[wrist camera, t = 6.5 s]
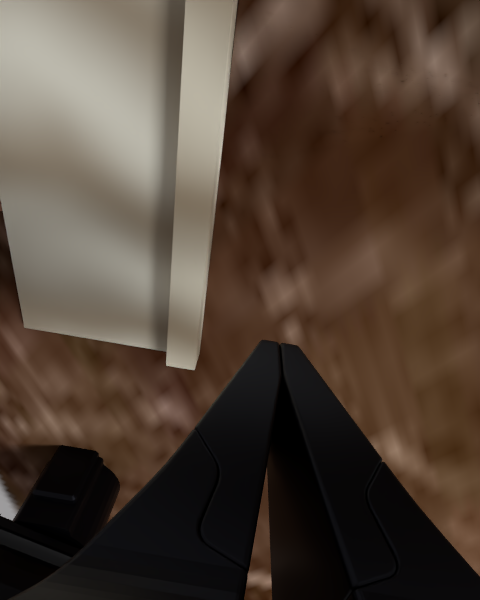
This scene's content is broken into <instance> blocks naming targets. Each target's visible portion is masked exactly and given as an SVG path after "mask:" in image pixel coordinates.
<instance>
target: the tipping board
mask: <svg viewBox="0 0 480 600" xmlns="http://www.w3.org/2000/svg"><path fill="white" fill-rule="evenodd" d="M237 8H238V0H0V199H1V205H2V210H3V215H4V221H5V226H6V231H7V237H8V242H9V247H10V253H11V258H12V263H13V269H14V274H15V279H16V285H17V290H18V295H19V301H20V306H21V311H22V317H23V322H24V328H30V329H36V330H42V331H48V332H54V333H60V334H66V335H71V336H77V337H83V338H89V339H95V340H101V341H107V342H113V343H119V344H125V345H130V346H136V347H142V348H148V349H154V350H160V351H166V352H167V358H166V366H172V367H178V368H184V369H190V370H195V366H196V363H197V359H198V356H199V353H200V344H201V335H202V326H203V316H204V307H205V298H206V289H207V280H208V271H209V262H210V253H211V244H212V235H213V226H214V217H215V208H216V199H217V189H218V180H219V171H220V162H221V153H222V144H223V135H224V126H225V117H226V108H227V99H228V90H229V81H230V72H231V63H232V53H233V44H234V35H235V26H236V17H237Z"/></svg>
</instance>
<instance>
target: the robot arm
mask: <svg viewBox="0 0 480 600" xmlns="http://www.w3.org/2000/svg"><path fill="white" fill-rule="evenodd" d="M266 468H267V475H268V501H269V526H270V552H271V578H272V600H480V577H479V575H478V574H477V573H476V572H475V571H474V570H473V569H472V567H471V566H470V565H469V564H468V563H467V562H466V561H465V559H464V558H463V557H462V556H461V555H460V554H459V553H458V552H457V550H456V549H455V548H454V547H453V546H452V545H451V544H450V542H449V541H448V540H447V539H446V538H445V537H444V536H443V534H442V533H441V532H440V531H439V530H438V529H437V527H436V526H435V525H434V524H433V523H432V521H431V520H430V519H429V518H428V517H427V516H426V514H425V513H424V512H423V511H422V510H421V508H420V507H419V506H418V505H417V504H416V502H415V501H414V500H413V498H412V497H411V496H410V495H409V493H408V492H407V491H406V490H405V488H404V487H403V486H402V484H401V483H400V482H399V481H398V479H397V478H396V477H395V475H394V474H393V473H392V471H391V470H390V469H389V467H388V466H387V464H386V463H385V462H382V458H381V457H380V455H379V454H378V453H377V451H376V450H375V449H374V447H373V446H372V445H371V443H370V442H369V441H368V439H367V438H366V436H365V435H364V434H363V432H362V431H361V430H360V428H359V427H358V426H357V424H356V423H355V422H354V420H353V419H352V418H351V416H350V415H349V414H348V412H347V411H346V410H345V408H344V407H343V406H342V404H341V403H340V401H339V400H338V399H337V397H336V396H335V395H334V393H333V392H332V391H331V389H330V388H329V387H328V385H327V384H326V383H325V381H324V380H323V379H322V377H321V376H320V375H319V373H318V372H317V371H316V369H315V368H314V366H313V365H312V364H311V362H310V361H309V360H308V358H307V357H306V356H305V354H304V353H303V352H302V350H301V349H300V348H299V347H298V346H297V345H292V344H286V343H281V344H280V345H279V343H278V342H274V341H268V340H261V341H260V342H259V344H258V345H257V346H256V348H255V349H254V350H253V352H252V353H251V354H250V356H249V357H248V358H247V359H246V361H245V362H244V363H243V365H242V366H241V367H240V369H239V370H238V371H237V373H236V374H235V375H234V377H233V378H232V379H231V381H230V382H229V383H228V384H227V386H226V387H225V388H224V390H223V391H222V392H221V394H220V395H219V396H218V398H217V399H216V400H215V402H214V403H213V404H212V406H211V407H210V408H209V409H208V411H207V412H206V413H205V415H204V416H203V417H202V419H201V420H200V421H199V423H198V424H197V425H196V427H195V429H194V430H192V431H191V433H190V434H189V435H188V437H187V438H186V439H185V441H184V442H183V443H182V445H181V446H180V447H179V448H178V449H177V451H176V452H175V453H174V454H173V455H172V457H171V458H170V459H169V460H168V462H167V463H166V464H165V465H164V466H163V467H162V468H161V469H160V470H159V471H158V472H157V473H156V475H155V476H154V477H153V478H152V479H151V480H150V481H149V482H148V483H147V484H146V485H145V486H144V487H143V488H142V489H141V490H140V491H139V492H138V493H137V494H136V495H135V496H134V497H133V498H132V499H131V500H130V501H129V502H128V503H127V504H126V505H125V506H124V507H123V508H122V509H121V510H120V511H119V512H118V513H117V514H116V515H115V516H114V517H113V518H112V519H111V520H110V521H109V522H108V523H107V521H108V519H109V516H110V513H111V511H112V508H113V506H114V503H115V501H116V498H117V496H118V493H119V490H120V484H119V481H118V479H117V477H116V476H115V474H114V473H113V472H112V471H111V470H110V469H108V468H107V467H106V466H105V465H104V464H103V459H102V458H101V457H99V453H98V452H96V451H93V450H87V449H82V448H76V447H70V446H64V445H61V446H59V448H58V450H57V451H56V453H55V454H54V456H53V458H52V459H51V460H50V461H49V462H48V463H47V465H46V467H45V468H44V470H43V472H42V473H41V475H40V477H39V478H38V480H37V481H36V483H35V485H34V486H33V488H32V490H31V491H30V493H29V495H28V496H27V498H26V500H25V501H24V503H23V504H22V506H21V508H20V509H19V511H18V513H17V514H16V516H15V518H14V519H13V521H11V520H9V519H6V518H4V517H2V516H0V600H244V596H245V589H246V583H247V577H248V576H247V574H248V571H249V566H250V560H251V555H252V549H253V543H254V537H255V532H256V526H257V520H258V514H259V509H260V503H261V497H262V491H263V485H264V480H265V474H266ZM0 515H1V514H0Z"/></svg>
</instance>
